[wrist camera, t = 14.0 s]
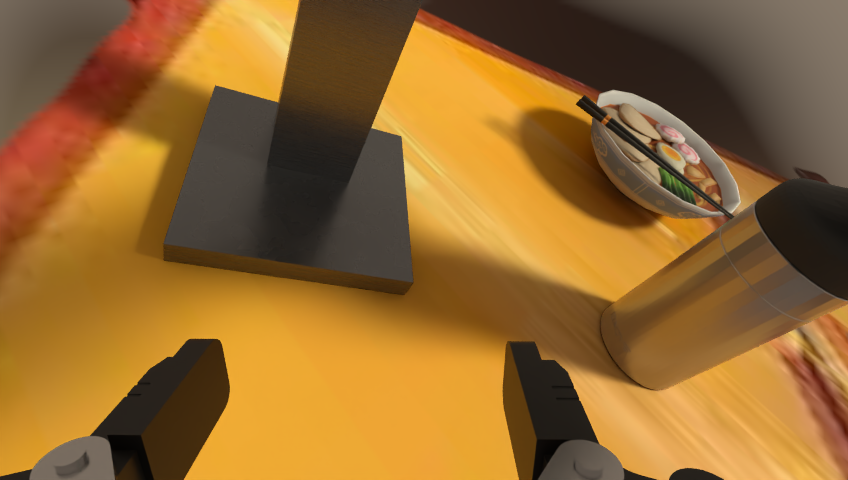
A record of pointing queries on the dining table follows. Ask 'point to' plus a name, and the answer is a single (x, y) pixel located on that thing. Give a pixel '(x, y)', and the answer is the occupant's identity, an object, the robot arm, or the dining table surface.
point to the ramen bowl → (658, 158)
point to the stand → (306, 161)
